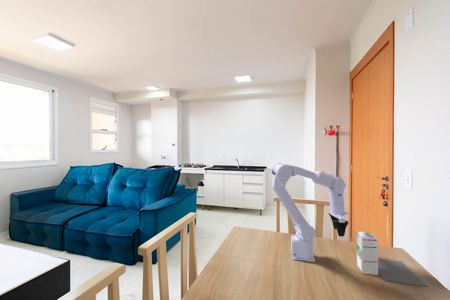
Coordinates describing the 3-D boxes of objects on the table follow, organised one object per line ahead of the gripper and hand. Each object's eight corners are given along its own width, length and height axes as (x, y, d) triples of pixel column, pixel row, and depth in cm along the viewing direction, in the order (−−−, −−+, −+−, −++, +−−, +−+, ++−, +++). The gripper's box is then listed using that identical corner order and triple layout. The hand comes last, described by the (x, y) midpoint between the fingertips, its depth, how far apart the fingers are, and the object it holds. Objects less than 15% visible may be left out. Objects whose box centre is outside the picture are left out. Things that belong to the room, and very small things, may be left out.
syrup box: (378, 275, 80) (378, 238, 79) (361, 273, 81) (361, 236, 81) (371, 266, 85) (371, 231, 85) (355, 265, 86) (355, 231, 86)
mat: (384, 280, 76) (384, 280, 76) (366, 258, 92) (366, 257, 92) (427, 286, 73) (427, 285, 73) (401, 261, 88) (401, 261, 88)
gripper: (351, 207, 86) (354, 240, 86) (341, 198, 100) (344, 226, 100) (333, 207, 88) (335, 239, 88) (326, 198, 102) (328, 225, 102)
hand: (338, 232), depth 94 cm, fingers open, 7 cm apart
